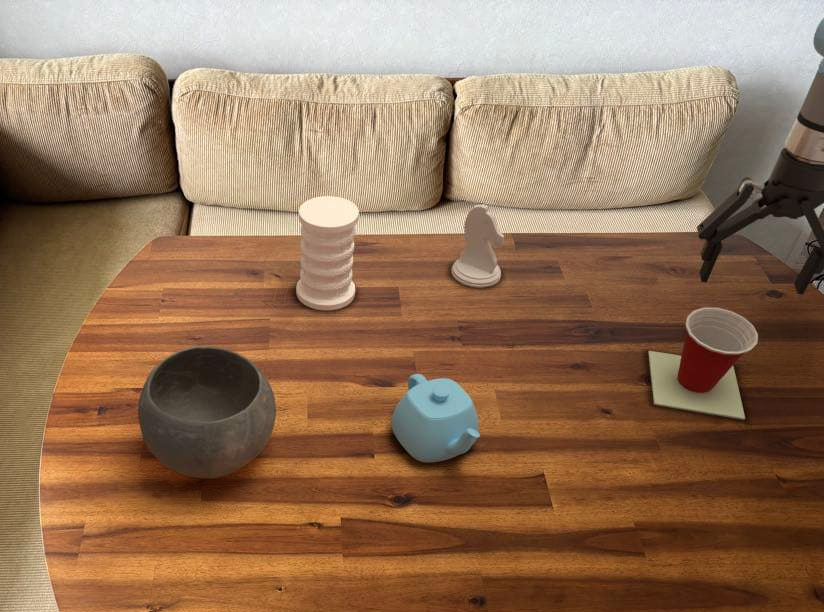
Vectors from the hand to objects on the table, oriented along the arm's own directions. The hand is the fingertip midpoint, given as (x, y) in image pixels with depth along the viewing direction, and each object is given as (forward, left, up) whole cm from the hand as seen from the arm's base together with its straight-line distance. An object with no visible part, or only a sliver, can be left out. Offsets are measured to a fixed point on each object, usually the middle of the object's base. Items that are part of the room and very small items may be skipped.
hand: (749, 283), depth 119 cm
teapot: (+42, +27, -20) cm, 54 cm away
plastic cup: (+1, +2, -20) cm, 20 cm away
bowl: (+76, +38, -20) cm, 88 cm away
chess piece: (+40, -22, -20) cm, 50 cm away
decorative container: (+68, -8, -20) cm, 72 cm away
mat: (+1, +2, -20) cm, 20 cm away
